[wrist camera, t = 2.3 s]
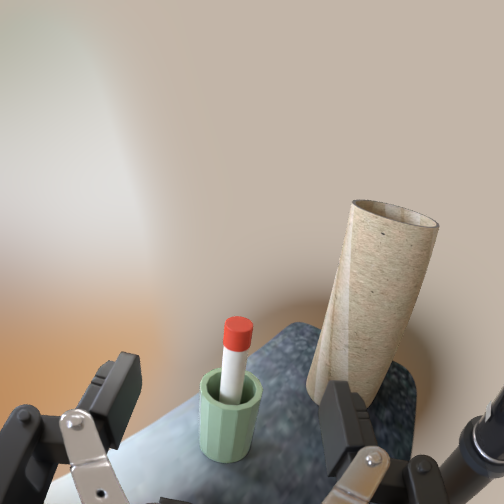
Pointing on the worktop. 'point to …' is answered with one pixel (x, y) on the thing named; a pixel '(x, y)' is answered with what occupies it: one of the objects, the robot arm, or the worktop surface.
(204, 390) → the green pencil holder
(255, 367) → the worktop surface
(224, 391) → the marker
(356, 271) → the tube
